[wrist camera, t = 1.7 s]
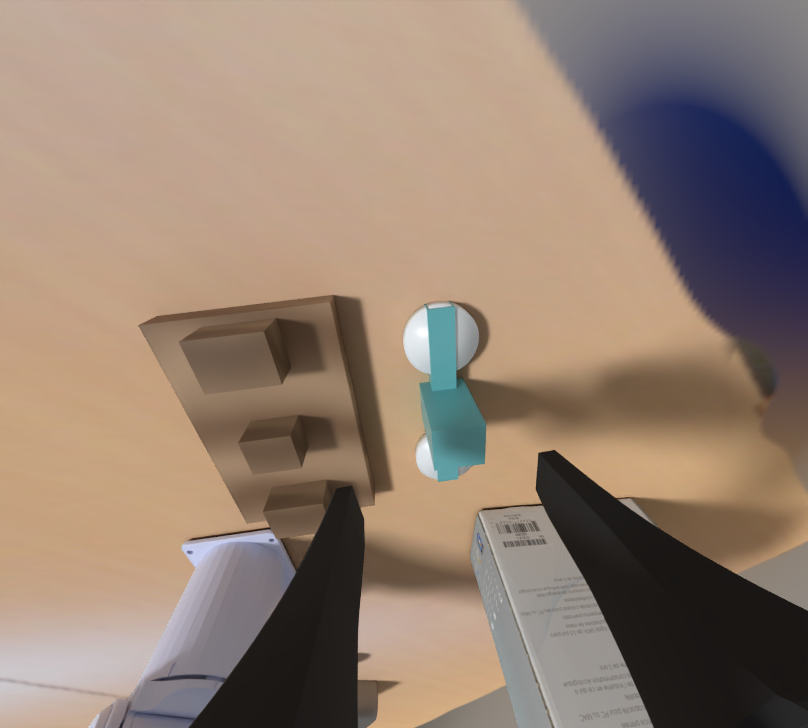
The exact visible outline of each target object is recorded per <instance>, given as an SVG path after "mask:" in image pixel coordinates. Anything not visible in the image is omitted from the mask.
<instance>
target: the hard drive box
mask: <svg viewBox="0 0 808 728" xmlns="http://www.w3.org/2000/svg"><path fill="white" fill-rule="evenodd" d="M617 500H619V501H620V502H622V503H623V504H624V505H626V506H627V507H628V508H630V509H631V510H633V511H634V512H636V513H637V514H638V515H640V516H641V517H643V518H644V519H646V520H647V521H649V522H650V523H652V524H653V525H655V526H656V527H658V526H657V525H656V524H655V523H654V522H653V520H652V519H651V518H650V517H649V516H648V515H647V514H646V513H645V512H644V511H643V510H642V508H641V507H640V506H639V505H638V504H637V503H636V502H635V500H634V499H632V498H626V499H617ZM658 528H659V527H658ZM659 529H660V528H659ZM470 560H471V563H472V566H473V569H474V572H475V576H476V580H477V583H478V586H479V590H480V593H481V596H482V600H483V604H484V608H485V611H486V614H487V618H488V621H489V625H490V628H491V632H492V635H493V639H494V642H495V646H496V650H497V653H498V657H499V660H500V664H501V667H502V671H503V674H504V678H505V681H506V684H507V688H508V692H509V695H510V699H511V702H512V706H513V710H514V713H515V717H516V720H517V724H518V727H519V728H653V725H652V723H651V720H650V718H649V716H648V713H647V711H646V708H645V706H644V704H643V702H642V699H641V697H640V695H639V693H638V690H637V688H636V686H635V684H634V681H633V679H632V677H631V675H630V672H629V670H628V668H627V666H626V663H625V661H624V659H623V657H622V655H621V653H620V650H619V648H618V646H617V644H616V642H615V640H614V638H613V635H612V633H611V631H610V629H609V627H608V625H607V623H606V621H605V619H604V616H603V614H602V612H601V610H600V608H599V606H598V604H597V602H596V600H595V598H594V596H593V594H592V592H591V590H590V588H589V587H588V585H587V583H586V581H585V579H584V577H583V576H582V574H581V572H580V571H579V569H578V567H577V566H576V564H575V562H574V560H573V559H572V557H571V555H570V554H569V552H568V550H567V548H566V547H565V545H564V543H563V542H562V540H561V538H560V537H559V535H558V533H557V531H556V530H555V528H554V526H553V524H552V523H551V521H550V519H549V517H548V516H547V513H546V511H545V509H544V507H543V505H542V506H530V507H528V506H522V507H510V508H505V509H495V510H482V511H480V512H479V514H477V516H476V522H475V528H474V534H473V541H472V547H471V554H470Z"/></svg>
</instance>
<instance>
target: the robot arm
mask: <svg viewBox="0 0 808 728" xmlns="http://www.w3.org/2000/svg"><path fill="white" fill-rule="evenodd" d="M536 491H537V493H538V496H539V498H540V500H541V502H542V505H543V507H544V509H545V511H546V513H547V516H548V517H549V519H550V521H551V523H552V524H553V526H554V528H555V530H556V531H557V533H558V535H559V537H560V538H561V540H562V542H563V543H564V545H565V547H566V548H567V550H568V552H569V554H570V555H571V557H572V559H573V560H574V562H575V564H576V566H577V567H578V569H579V571H580V572H581V574H582V576H583V577H584V579H585V581H586V583H587V585H588V587H589V588H590V590H591V592H592V594H593V596H594V598H595V600H596V602H597V604H598V606H599V608H600V610H601V612H602V614H603V616H604V619H605V621H606V623H607V625H608V627H609V629H610V631H611V633H612V635H613V638H614V640H615V642H616V644H617V646H618V648H619V650H620V653H621V655H622V657H623V659H624V661H625V663H626V666H627V668H628V670H629V672H630V675H631V677H632V679H633V681H634V684H635V686H636V688H637V690H638V693H639V695H640V697H641V699H642V702H643V704H644V706H645V708H646V711H647V713H648V716H649V718H650V720H651V723H652V725H653V728H808V611H807V610H805V609H803V608H801V607H799V606H797V605H795V604H793V603H791V602H789V601H787V600H785V599H783V598H781V597H779V596H777V595H775V594H773V593H771V592H769V591H767V590H765V589H763V588H761V587H759V586H757V585H756V584H754V583H752V582H750V581H748V580H746V579H744V578H742V577H741V576H739V575H737V574H735V573H733V572H732V571H730V570H728V569H726V568H724V567H723V566H721V565H719V564H717V563H716V562H714V561H712V560H710V559H708V558H707V557H705V556H703V555H701V554H700V553H698V552H696V551H694V550H693V549H691V548H689V547H688V546H686V545H684V544H683V543H681V542H680V541H678V540H676V539H675V538H673V537H672V536H670V535H668V534H667V533H665V532H664V531H662V530H661V529H659V528H658V527H656V526H655V525H653V524H652V523H650V522H649V521H647V520H646V519H644V518H643V517H641V516H640V515H638V514H637V513H636V512H634V511H633V510H631V509H630V508H628V507H627V506H626V505H624V504H623V503H622V502H620V501H619V500H617V499H616V498H615V497H613V496H612V495H611V494H610V493H608V492H607V491H606V490H604V489H603V488H602V487H600V486H599V485H598V484H596V483H595V482H594V481H593V480H591V479H590V478H589V477H587V476H586V475H585V474H584V473H582V472H581V471H580V470H579V469H577V468H576V467H575V466H574V465H573V464H571V463H570V462H569V461H568V460H566V459H565V458H564V457H563V456H561V455H560V454H559V453H558V452H556V451H555V450H552V451H546V452H541V453H539V454H538V467H537V479H536ZM181 549H182V550H183V552H184V553H185V554H186V556H187V557H188V558H189V560H190V561H191V562H192V564H193V565H194V566H195V568H196V569H195V570H194V572H193V574H192V576H191V578H190V580H189V582H188V584H187V586H186V588H185V590H184V592H183V594H182V596H181V598H180V600H179V602H178V604H177V606H176V608H175V610H174V612H173V614H172V616H171V618H170V620H169V622H168V624H167V626H166V628H165V630H164V632H163V634H162V636H161V638H160V640H159V642H158V644H157V646H156V648H155V650H154V652H153V654H152V656H151V658H150V660H149V662H148V664H147V666H146V668H145V670H144V672H143V674H142V676H141V678H140V680H139V682H138V684H137V686H136V688H135V690H134V692H133V693H132V694H131V695H130V696H129V697H128V698H127V699H121V698H120V699H116V700H115V701H114V702H113V703H112V704H111V705H110V706H108V707H107V708H105V709H104V710H103V711H101V712H100V713H99V714H98V715H97V716H96V717H95V718H94V720H93V721H92V723H91V724H90V726H89V727H88V728H358V622H359V609H360V597H361V586H362V574H363V562H364V549H365V542H364V517H363V515H362V512H361V509H360V506H359V503H358V500H357V498H356V495H355V492H354V489H353V486H346V487H341V488H336V490H335V491H334V493H333V496H332V498H331V501H330V503H329V505H328V508H327V510H326V512H325V515H324V517H323V519H322V521H321V524H320V526H319V528H318V530H317V532H316V534H315V536H314V538H313V540H312V543H311V545H310V547H309V549H308V551H307V553H306V555H305V556H304V558H303V560H302V562H301V564H300V566H299V568H298V569H297V571H296V570H295V568H294V566H293V564H292V562H291V560H290V558H289V556H288V554H287V552H286V550H285V548H284V546H283V543H282V541H281V539H276V538H275V536H274V534H273V532H272V530H271V529H269V530H262V531H255V532H248V533H241V534H234V535H227V536H220V537H213V538H206V539H199V540H192V541H186V542H184V543H183V545H182V547H181Z"/></svg>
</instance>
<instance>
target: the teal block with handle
mask: <svg viewBox="0 0 808 728" xmlns="http://www.w3.org/2000/svg"><path fill="white" fill-rule="evenodd" d="M403 343H404V348H405V353H406V356H407V358H408V360H409V361H410V362H411V364H412V365H413V366H414V367H415V368H417V369H418V370H420V371H421V372H424V373H426V374H429V382H426V383H419V385H420V396H421V408H422V419H423V423H424V427H425V432H426V433H425V434H424V435H423V436H422V437H421V438H420V439H419V440H418V442H417V444H416V448H415V454H416V461H417V465H418V468H419V469H420V471H421V472H422V473H423V474H424V475H426V476H428V477H430V478H433V479H438V482H440V481H448V480H455V479H458V476H460V475H462V474H464V473H465V472H466V471H468V470H469V469H470V468H471V467H472V465H479V464H485V442H486V422H485V420H484V418H483V417H482V415H481V413H480V411H479V409H478V407H477V405H476V403H475V401H474V399H473V397H472V395H471V393H470V391H469V390H468V388H467V386H466V384H465V382H464V380H463V378H457V379H456V371H457V370H459V369H461V368H462V367H464V366H465V365H466V364H467V363H468V362H469V361H470V360H471V359H472V357H473V356H474V354H475V352H476V350H477V347H478V343H479V331H478V327H477V324H476V323H475V321H474V319H473V318H472V317H471V316H470V314H469V313H468V312H467V311H466V310H465V309H464V308H462V307H461V306H460V305H458V304H456V303H453V302H451V301H434V302H430V303H427V304H424V305H423V306H421V307H420V308H418V309H417V310H416V311H415V312H414V313H413V314H412V315H411V316H410V317H409V319H408V321H407V322H406V325H405V327H404V331H403Z"/></svg>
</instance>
